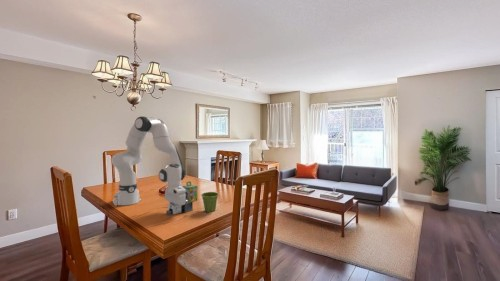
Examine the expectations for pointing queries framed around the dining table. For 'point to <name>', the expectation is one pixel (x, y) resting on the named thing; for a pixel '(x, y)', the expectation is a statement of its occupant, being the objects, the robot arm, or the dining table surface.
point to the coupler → (183, 207)
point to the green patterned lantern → (190, 192)
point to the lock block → (173, 208)
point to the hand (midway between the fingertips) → (174, 209)
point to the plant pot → (210, 201)
